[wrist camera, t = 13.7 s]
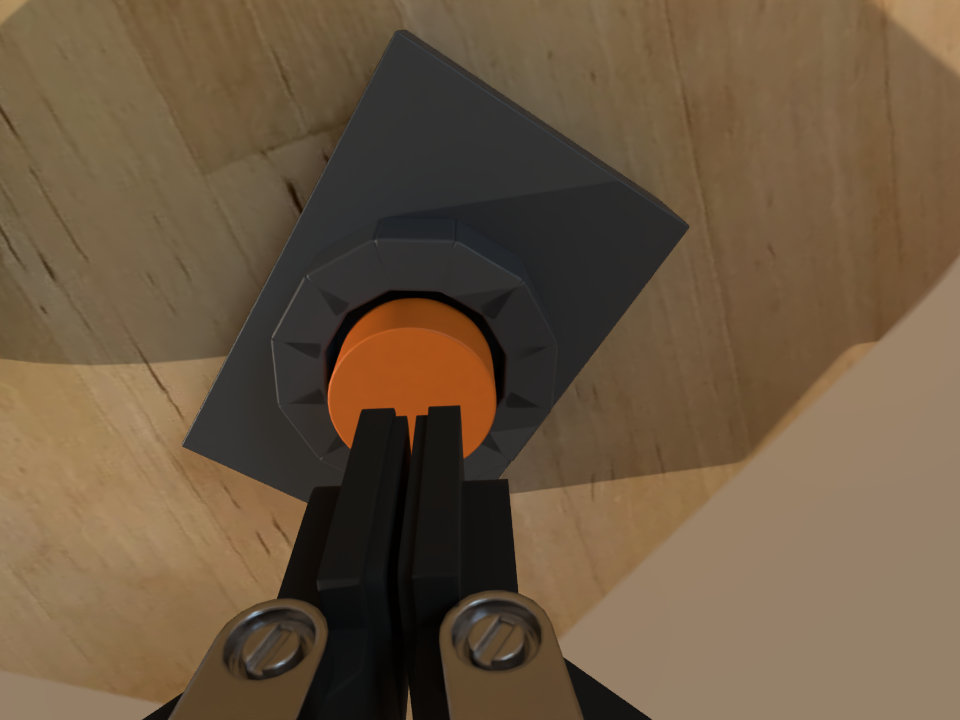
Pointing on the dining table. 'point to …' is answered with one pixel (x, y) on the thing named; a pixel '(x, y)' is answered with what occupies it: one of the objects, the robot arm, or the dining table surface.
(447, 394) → the button
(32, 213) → the dining table surface
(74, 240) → the dining table surface
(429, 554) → the robot arm
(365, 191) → the control block
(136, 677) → the dining table surface
